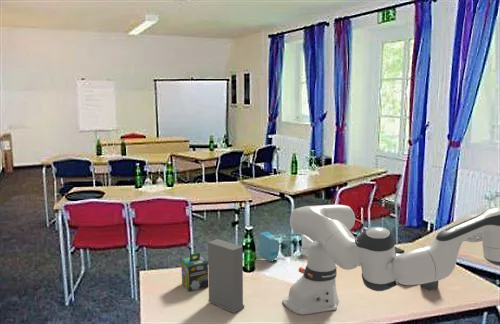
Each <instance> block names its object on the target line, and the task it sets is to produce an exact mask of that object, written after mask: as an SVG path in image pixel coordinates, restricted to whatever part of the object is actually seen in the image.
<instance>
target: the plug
mask: <svg viewBox="0 0 500 324" xmlns="http://www.w3.org/2000/svg"><path fill="white" fill-rule="evenodd" d="M419 285H420V287H421V288H422V289H425V290H428V291H430V292H431V291H433V290H438V288H439V280H438V281H434V282H430V283H424V284H419Z"/></svg>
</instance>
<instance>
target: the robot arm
mask: <svg viewBox="0 0 500 324" xmlns="http://www.w3.org/2000/svg"><path fill="white" fill-rule="evenodd" d="M355 221H356V216H355V212H354V211H353V209H352V208H351V207H350V206H349V205H345V204H338V203H336V204H321V205H305V206H301V207H300V206H299V207H298V208H294V209H293V210H292V211H291V213H290V215H289V224H290V227H291V229H292V230H293V231H294V233H296V234H299V235H301V236H302V235H305V236H307V237H309V238H310V239H311V240H313V241H314V242H312V243H311V244H310V245H309V247H308V256H306V257H307V260H306V261H307V262H306V263H307V264H306V266H305V268H303V267H301V266H300V267H299V268H298V272H299V273H301V274H303V275H302V276H301V277H300V278H299V279H297V281H296V282H294V284H292V285H291V286H290V288H289V291H288V296H286V297H283V299H282V305H284V306H285V307H286V308H287V309H288V310H290V311H291V312H293V313H295V314H298V315H300V316H301V315H303V316H304V315H309V314H316V313H322V312H328V311H330V312H331V311H336V310H337V309H338V307H337V305H338V304H339V303H340V300H339V296H338V291H337V283H336V277H337V266H338V267H339V268H341V269H342V270H347V271H350V270H355V269H356V268H357V267H361V278H362V282H363V284H364V286H365V287H366V288H368V289H370V290H371V291H373V292H374V291H375V292H384V291H387V290H390V289H392V288H394V287H396V286H397V285H399V284H400V283H401V284H400V285H402V284H403V285H402V286H404V285H405V286H414V285H415V286H416V285H420V284H424V283H430V282H434V281H438V282H439V281H441V280H445V279H446V278H448V277H449V276H450V275H452V273H453V271H454V270H455V268H456V264H457V260H458V256H459V252H460V249H461V246H462V245H463V243H464V242H468V243H480V242H482V244H481V245H482V252H483V258H484V259H485V260H486V261H487V262H489V263H490V264H492V265H494V266H499V267H500V207H493V208H489V209H486V210H484V211H483V212H481V213H479V214H477V215H475V216H473V217H471V218H469V219H466V220H464V221H461V222H458V223H457V224H454V225H452V226H449V227H447V228H445V229H442V230H441V231H439V232H438V233H437V234H436V236H435V238H434V239H433V240H432V241H431V242H429V243H428V244H426V245H423V246H421V247H417V248H414V249H410V250H407V251H404V253H399V254H398V253H396V254H395V247H396V246H395V244H396V241H395V237H394V234H393V232H392V231H391V230H389V229H387V228H386V227H383V226H371V227H368V228H367V229H365V230H363V231H362V232H361V233H359V234H357V236H356V238H355V236H354V234H353V233H352V232H351V230H352V229H353V227H354V225H355ZM394 246H395V247H394ZM336 265H337V266H336Z"/></svg>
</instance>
